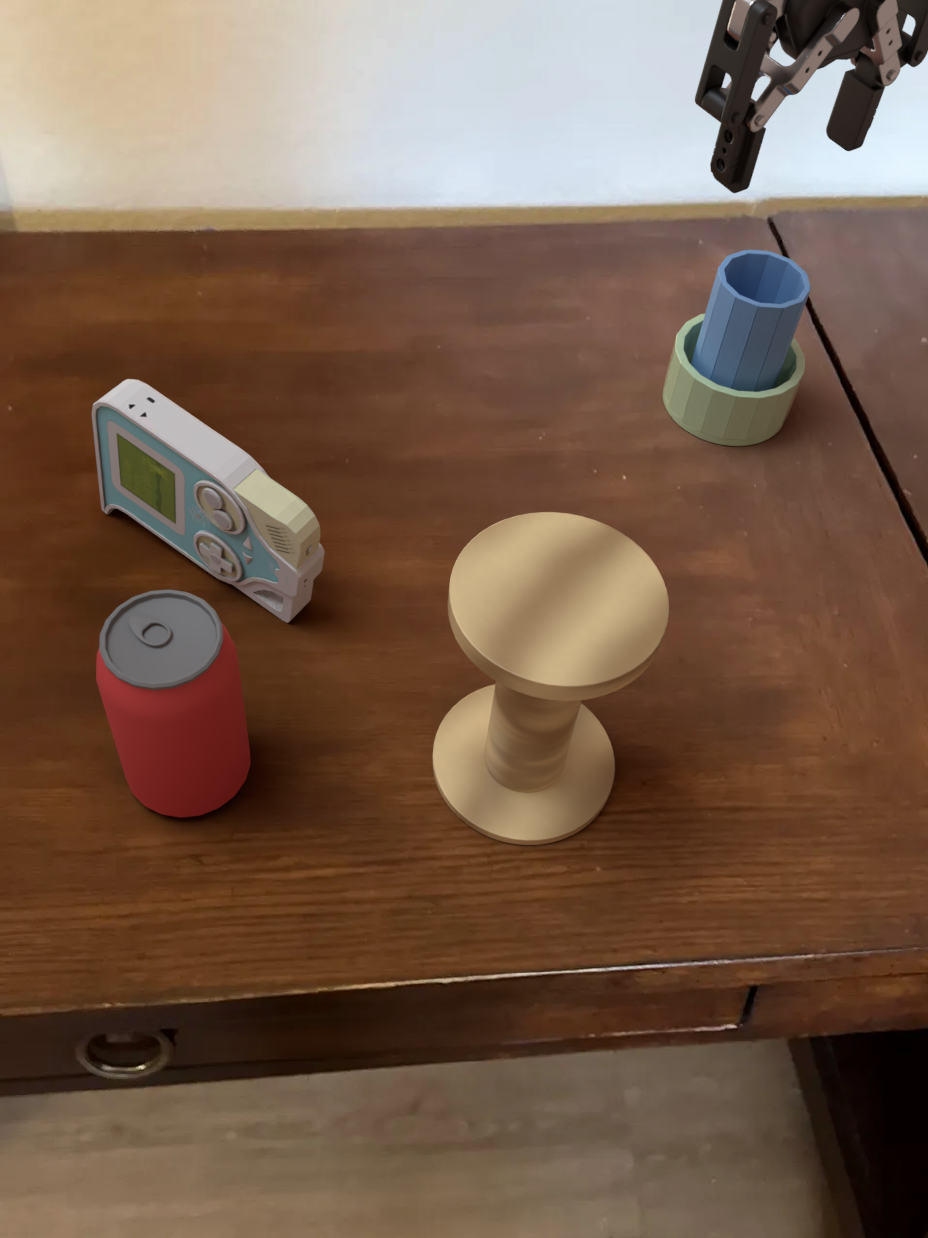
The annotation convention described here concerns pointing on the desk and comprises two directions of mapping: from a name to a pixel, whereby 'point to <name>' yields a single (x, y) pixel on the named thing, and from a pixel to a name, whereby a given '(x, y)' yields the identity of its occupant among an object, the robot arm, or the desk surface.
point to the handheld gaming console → (205, 498)
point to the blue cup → (750, 320)
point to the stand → (543, 671)
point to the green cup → (726, 396)
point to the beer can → (174, 702)
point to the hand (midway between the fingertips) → (787, 162)
